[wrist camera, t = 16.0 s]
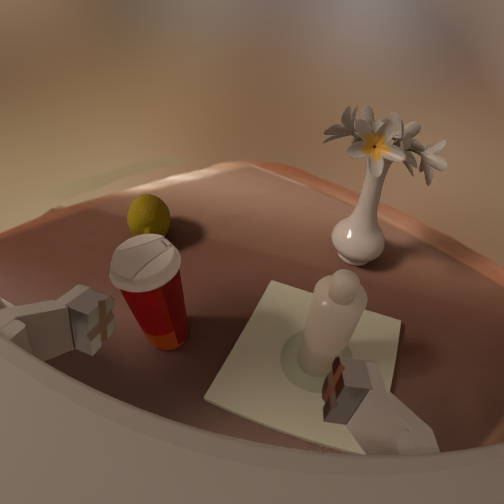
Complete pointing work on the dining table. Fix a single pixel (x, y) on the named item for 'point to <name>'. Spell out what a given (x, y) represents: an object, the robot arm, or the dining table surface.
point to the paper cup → (152, 288)
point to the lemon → (148, 216)
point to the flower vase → (376, 176)
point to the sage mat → (294, 369)
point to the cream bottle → (330, 321)
